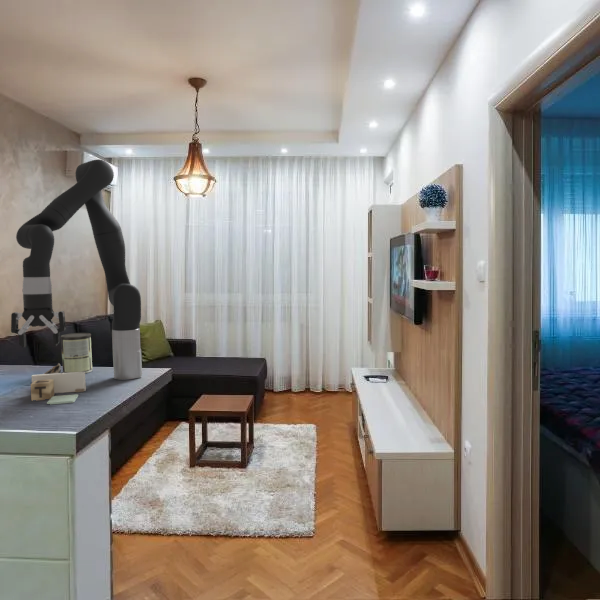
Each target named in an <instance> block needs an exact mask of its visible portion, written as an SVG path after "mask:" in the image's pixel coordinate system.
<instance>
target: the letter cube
mask: <svg viewBox="0 0 600 600" xmlns="http://www.w3.org/2000/svg"><path fill="white" fill-rule="evenodd" d="M30 396H31V397H30V398H31V401H32V402H34V401H33V400H36V401H46V400H45V399H49V400H50V399H51V398H52V397H53V396H55V393H54V381H53V379H50V380H36V381H34V382H33V383H32V382H31V383H30Z"/></svg>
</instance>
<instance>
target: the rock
mask: <svg viewBox="0 0 600 600" xmlns="http://www.w3.org/2000/svg"><path fill="white" fill-rule="evenodd" d="M61 367H62V366H61V364H60V363H59V362H58V363H57V365H54V366H52V368H51V369H49V370H48V371H45V372H43V374H55V373H62V369H61Z"/></svg>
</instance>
